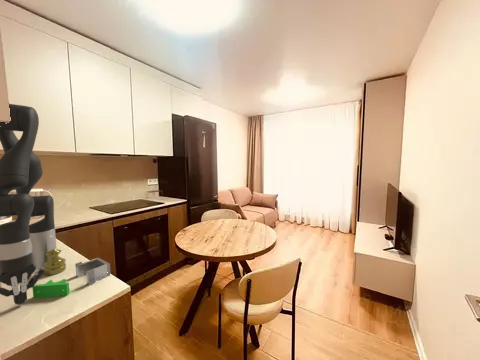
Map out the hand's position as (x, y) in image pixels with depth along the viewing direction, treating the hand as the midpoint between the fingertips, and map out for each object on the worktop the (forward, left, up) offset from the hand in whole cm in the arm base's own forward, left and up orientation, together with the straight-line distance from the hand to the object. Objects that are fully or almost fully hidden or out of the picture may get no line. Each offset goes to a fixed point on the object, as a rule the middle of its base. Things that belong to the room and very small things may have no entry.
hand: (20, 303), depth 67 cm
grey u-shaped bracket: (0, +21, -1) cm, 21 cm away
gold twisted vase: (-19, +14, -1) cm, 23 cm away
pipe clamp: (+1, +8, -1) cm, 9 cm away
